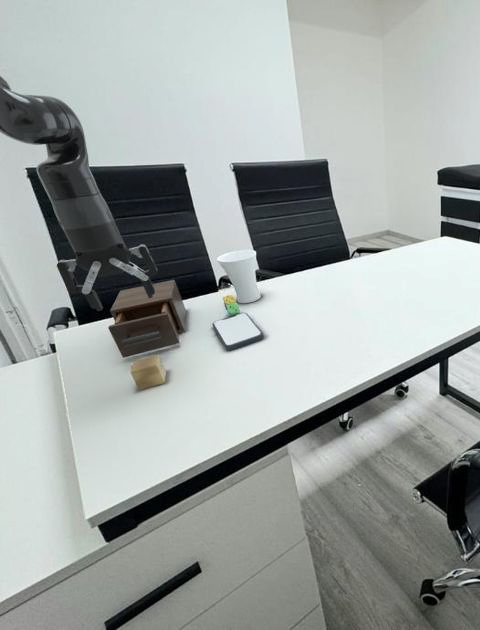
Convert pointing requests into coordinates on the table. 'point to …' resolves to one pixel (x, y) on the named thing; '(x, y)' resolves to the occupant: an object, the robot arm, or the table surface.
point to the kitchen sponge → (231, 305)
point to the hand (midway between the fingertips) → (126, 303)
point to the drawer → (145, 329)
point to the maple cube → (148, 372)
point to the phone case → (237, 331)
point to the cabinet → (152, 301)
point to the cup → (241, 273)
